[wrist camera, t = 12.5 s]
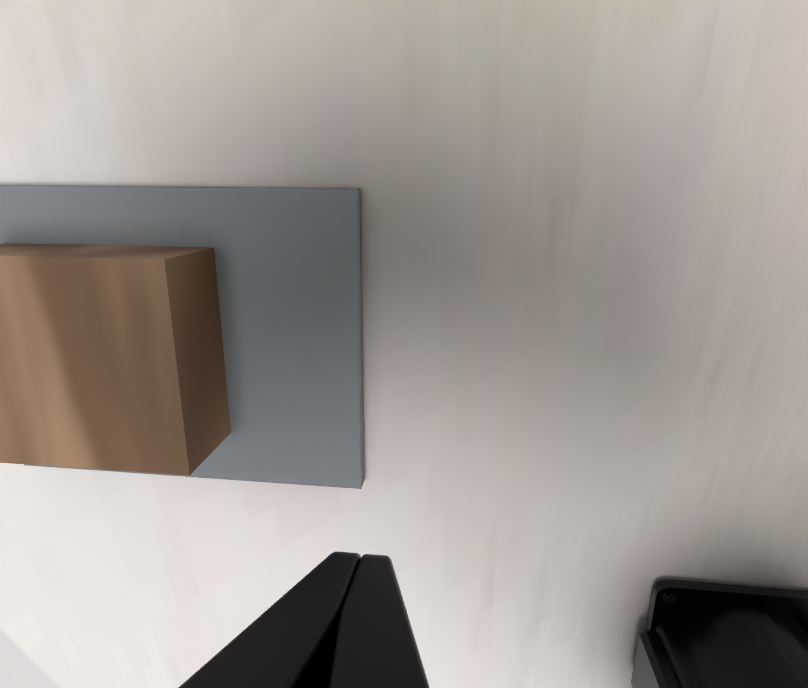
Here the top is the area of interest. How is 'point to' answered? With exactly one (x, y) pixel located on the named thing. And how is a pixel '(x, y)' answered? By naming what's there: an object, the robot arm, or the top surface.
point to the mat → (248, 309)
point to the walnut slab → (111, 357)
